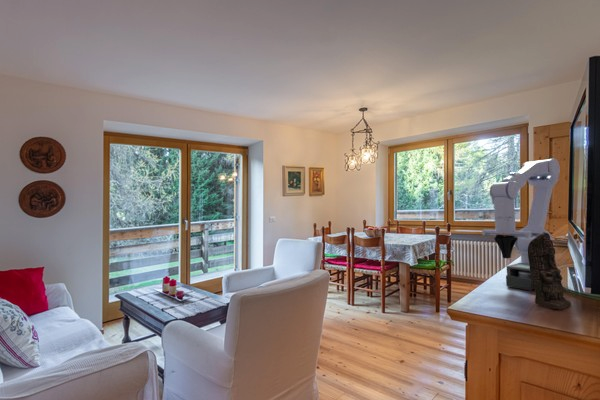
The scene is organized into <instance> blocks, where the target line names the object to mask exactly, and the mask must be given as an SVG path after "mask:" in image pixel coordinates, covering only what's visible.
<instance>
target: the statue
mask: <svg viewBox="0 0 600 400" xmlns="http://www.w3.org/2000/svg"><path fill="white" fill-rule="evenodd" d="M528 259H529V266H530V274H531V279H532V283H533V287H534V289H533V290H534V291H535V293H534V295H535V297H534V303H535V305H538V306H539V307H540V306H541V307H545V308H548V309H552V310H559V311H560V310H564V309H566V308H568V307H571V306H572V301H571V300H568V299H567V298H566V297H564V291H565V290H564V287H563V283H562V280H563V276H562V275H561V272H562V271H561V269H559V268H558V266H557V261H556V249H555V246H554V241H553V239H552V240H550V235H549V234H548V233H545V232H543V233H541V234H540V235H538V236H537V237H535V238H534V239H533V240H532V241H531V242H530V243H529V246H528Z"/></svg>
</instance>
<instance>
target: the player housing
mask: <svg viewBox="0 0 600 400" xmlns="http://www.w3.org/2000/svg"><path fill="white" fill-rule="evenodd" d="M519 270H524V271H530V266H529V264H526V263H521V262H517V263H513V264H509V265H506V275H511V276H517V277H519V273H518V271H519Z"/></svg>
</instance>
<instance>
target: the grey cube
mask: <svg viewBox="0 0 600 400" xmlns="http://www.w3.org/2000/svg"><path fill="white" fill-rule="evenodd" d="M518 273H519V277H523V278H529V279H531V274H530V271H524V270H519V271H518Z"/></svg>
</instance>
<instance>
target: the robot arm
mask: <svg viewBox="0 0 600 400" xmlns="http://www.w3.org/2000/svg"><path fill="white" fill-rule="evenodd" d="M521 166H522V167H521V169H519V171H518V172H517V171H516V172H515V171H511V172H509V174H508V175H507V176H506V177H504V178H502V180H500V181H499V182H494V183H493V184H491V186H490V188H489V196H490V198H491V203H492V204H493V206H494V207H493V208H494V210H493V211H494V226H495V227H494V229H487V228H486V229H482V230H481V235H482V236H495V237H494V241H495V242H496V244H497V246H498V247H499V250H500V252H501V256H502V258H503V259H510V258H511V256H512V252H513V250H514V248H515V249H516V251H517V252H518V254H520V260H521V261H520V263H526V264H529V259H528V246H529V243H530V242H531V241H532V240H533V239H534V238H535V237H537V236H538V235H540V234H541V233H543V232H545V233H548V234H549V235H550V240H552V241H553V235H552V234H551V233H550V232H549V231H547V230H546V229H545V226H546V220H547V217H548V212H549V208H550V202H551V198H552V193H553V189H554V188H553V187H554V186H555V185H556V184H558V181H559V178H560V173H561V172H560V171H561V168H560V167H561V166H560V163H559V161H558V160H557V159H556V158H554V157H553V158H549V159H548V158H547V159H540V160H533V161H529V160H528V161H526V162H524V163H522V165H521ZM527 183H528V185H530V186H532V187H535V189H534V193H533V197H532V203H531V206H530V210H529V215H528V221H527V225H526V226H524V227H523V228H521V229H519V230H517V229H516V228H517V227H516V214H515V213H516V212H515V199H516V198H517V197H518V194H519V192H520V189H522V188H523V187H524V186H526V184H527Z"/></svg>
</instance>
